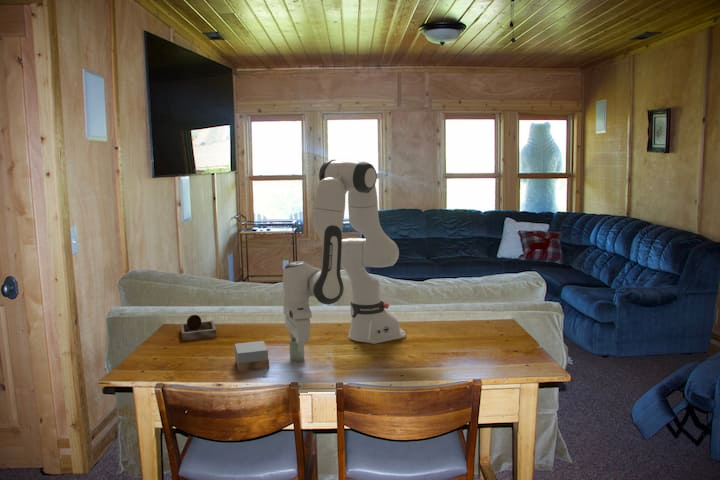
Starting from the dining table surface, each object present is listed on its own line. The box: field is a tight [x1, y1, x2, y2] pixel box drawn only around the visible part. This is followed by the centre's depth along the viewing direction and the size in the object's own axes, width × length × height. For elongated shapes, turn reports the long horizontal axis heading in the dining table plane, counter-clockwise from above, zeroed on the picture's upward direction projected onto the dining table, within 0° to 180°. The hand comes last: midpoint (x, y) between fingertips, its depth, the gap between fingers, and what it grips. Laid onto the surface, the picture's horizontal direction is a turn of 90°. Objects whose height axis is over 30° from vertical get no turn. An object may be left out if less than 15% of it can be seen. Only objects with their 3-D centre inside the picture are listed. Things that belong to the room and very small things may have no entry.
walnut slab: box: [234, 355, 270, 373], centre depth 198 cm, size 10×10×4 cm
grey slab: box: [234, 340, 269, 363], centre depth 197 cm, size 10×10×4 cm
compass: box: [186, 314, 209, 331], centre depth 233 cm, size 8×8×7 cm
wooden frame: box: [180, 320, 217, 341], centre depth 232 cm, size 13×13×3 cm
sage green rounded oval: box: [289, 339, 305, 363], centre depth 203 cm, size 5×5×6 cm
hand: (297, 346), depth 201 cm, fingers open, 8 cm apart
